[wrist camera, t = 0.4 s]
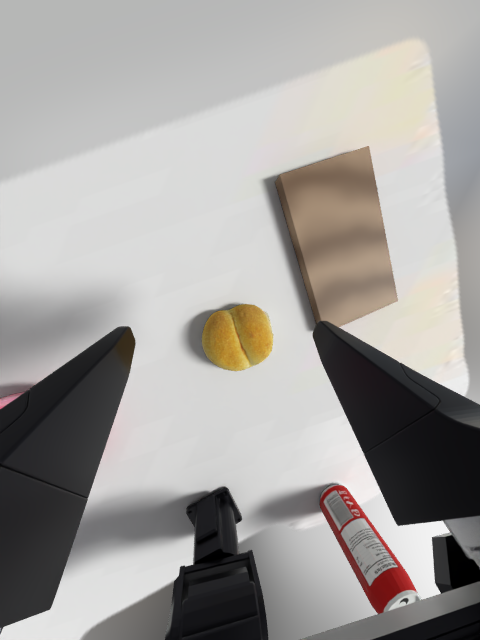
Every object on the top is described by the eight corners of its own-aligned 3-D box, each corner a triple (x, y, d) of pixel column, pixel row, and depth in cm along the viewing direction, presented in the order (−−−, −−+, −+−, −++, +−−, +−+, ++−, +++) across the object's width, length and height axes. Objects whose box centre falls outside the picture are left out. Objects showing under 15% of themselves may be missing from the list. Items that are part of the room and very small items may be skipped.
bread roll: (194, 317, 23) (191, 322, 19) (260, 298, 24) (270, 298, 20) (213, 375, 25) (214, 390, 21) (274, 354, 26) (286, 365, 22)
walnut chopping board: (387, 300, 28) (397, 300, 26) (318, 331, 26) (325, 333, 25) (358, 154, 24) (368, 145, 22) (274, 182, 22) (279, 174, 21)
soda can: (335, 513, 32) (408, 638, 21) (312, 505, 31) (375, 634, 19) (352, 487, 32) (435, 599, 20) (329, 478, 31) (403, 592, 19)
